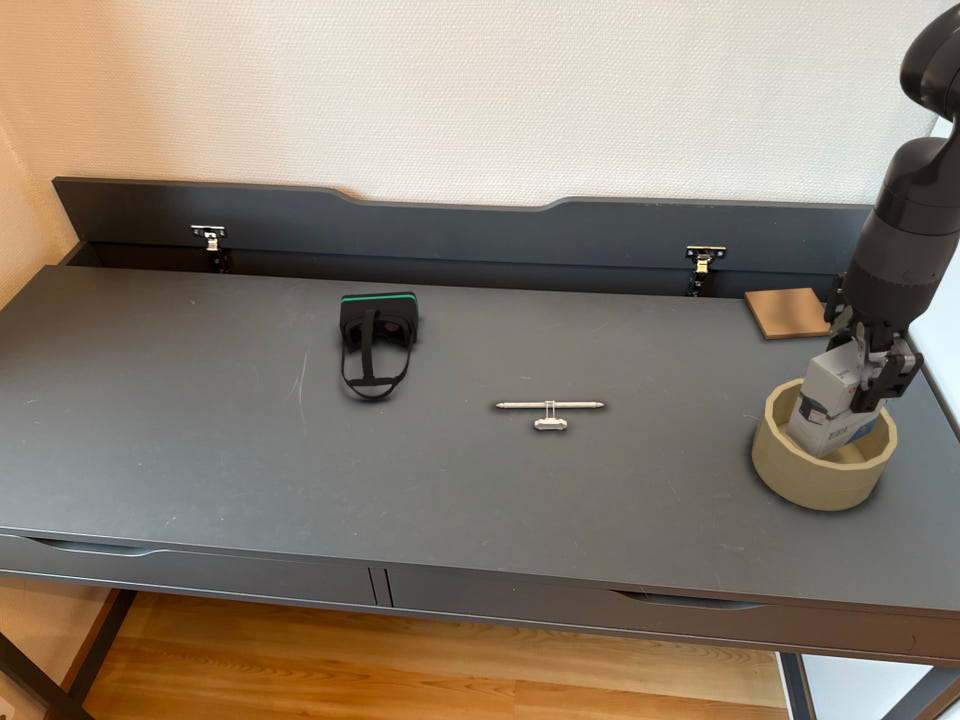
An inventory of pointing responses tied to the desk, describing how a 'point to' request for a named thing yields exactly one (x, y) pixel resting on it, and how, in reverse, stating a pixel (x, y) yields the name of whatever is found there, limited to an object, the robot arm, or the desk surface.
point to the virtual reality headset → (377, 331)
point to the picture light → (548, 422)
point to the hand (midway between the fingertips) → (846, 386)
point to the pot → (818, 480)
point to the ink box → (831, 403)
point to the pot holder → (788, 313)
